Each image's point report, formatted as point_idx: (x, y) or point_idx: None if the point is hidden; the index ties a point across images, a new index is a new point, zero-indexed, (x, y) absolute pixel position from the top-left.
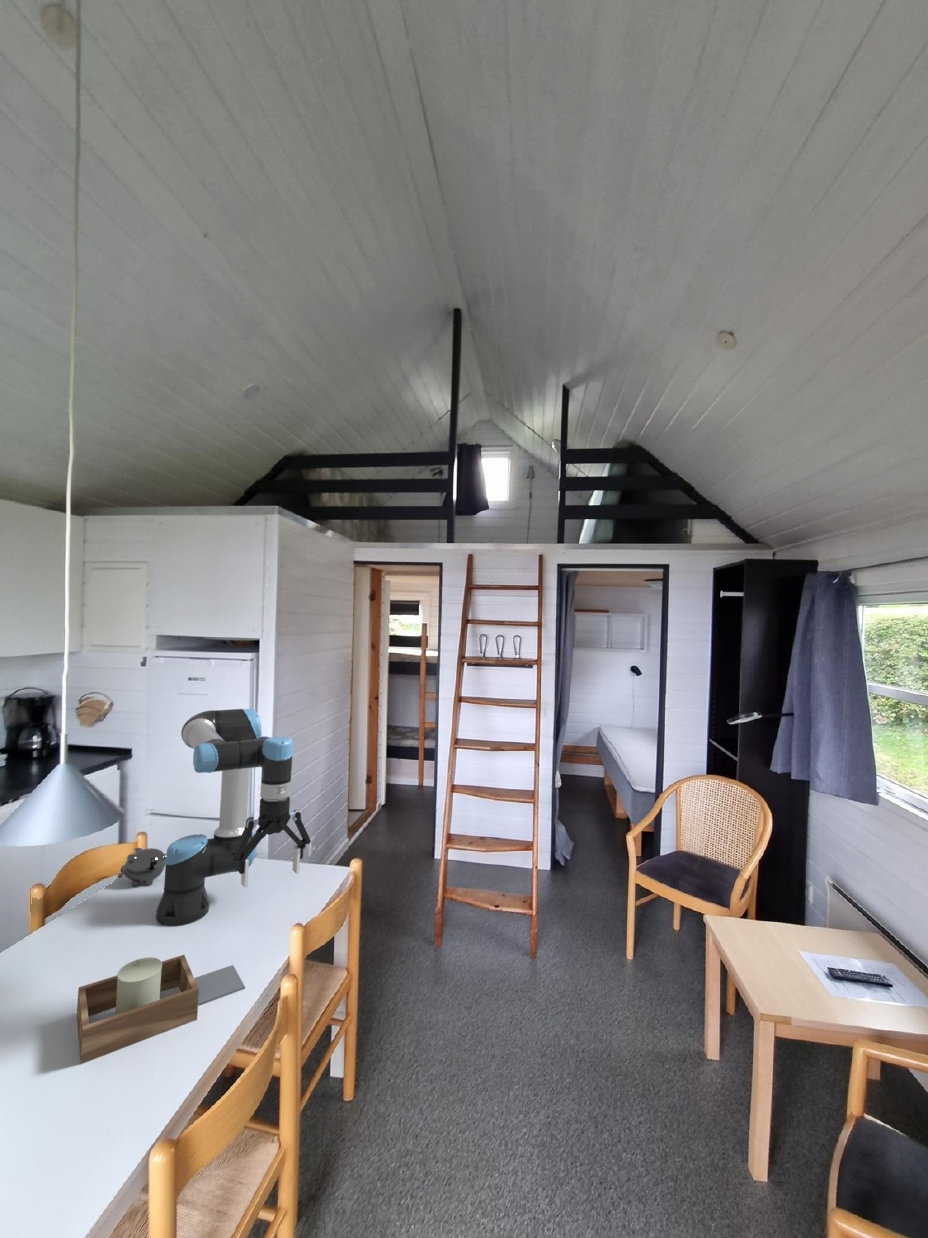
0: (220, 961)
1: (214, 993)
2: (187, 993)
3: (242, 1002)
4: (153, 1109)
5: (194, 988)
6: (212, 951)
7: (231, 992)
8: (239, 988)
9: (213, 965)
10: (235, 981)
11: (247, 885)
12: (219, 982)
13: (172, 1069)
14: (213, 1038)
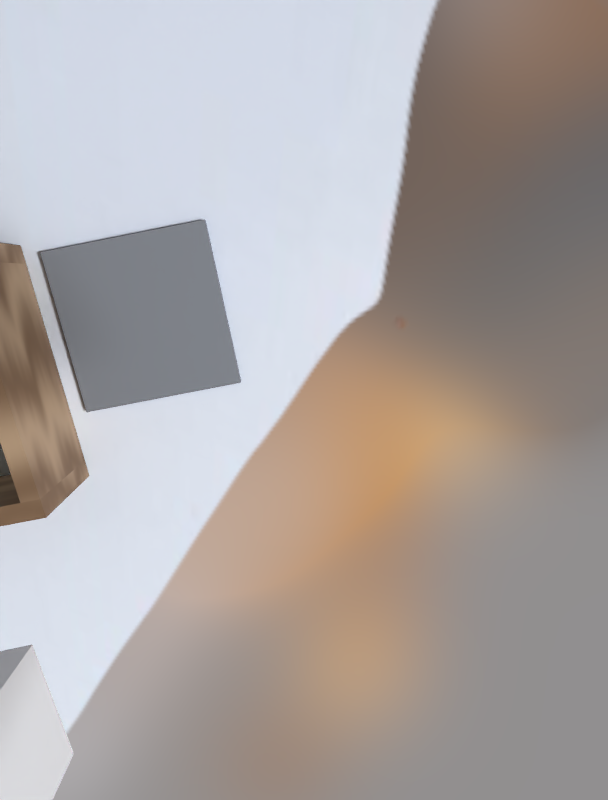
0: (157, 158)
1: (136, 377)
2: (6, 524)
3: (228, 449)
4: None
5: (28, 507)
6: (122, 57)
7: (194, 390)
8: (221, 383)
9: (130, 177)
10: (209, 335)
11: (66, 766)
12: (152, 318)
13: (41, 638)
14: (140, 571)
